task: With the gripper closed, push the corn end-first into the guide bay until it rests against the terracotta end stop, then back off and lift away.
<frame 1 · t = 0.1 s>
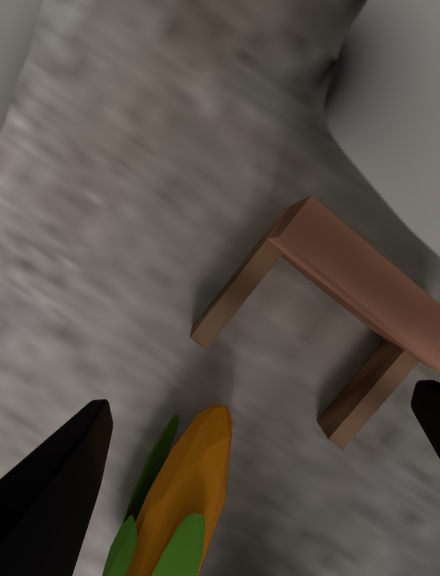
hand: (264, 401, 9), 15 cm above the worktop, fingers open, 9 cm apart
guide bay: (296, 339, 24), on the worktop
corn: (176, 482, 26), on the worktop
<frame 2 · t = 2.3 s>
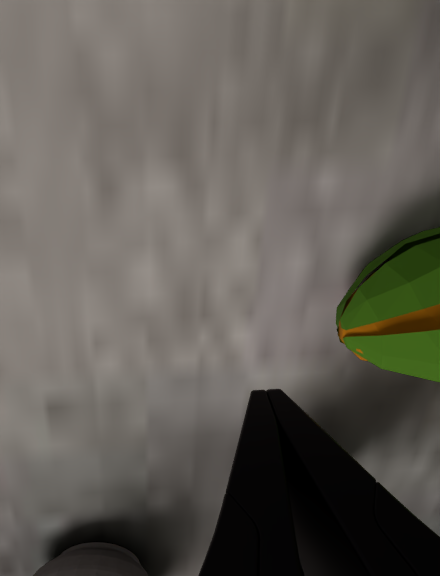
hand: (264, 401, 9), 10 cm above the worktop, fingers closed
coffee pot: (77, 533, 26), on the worktop
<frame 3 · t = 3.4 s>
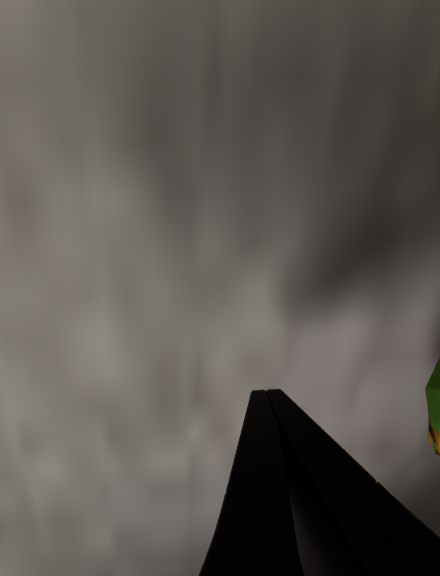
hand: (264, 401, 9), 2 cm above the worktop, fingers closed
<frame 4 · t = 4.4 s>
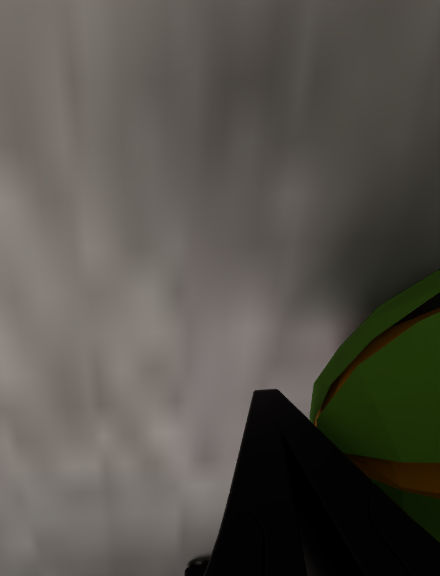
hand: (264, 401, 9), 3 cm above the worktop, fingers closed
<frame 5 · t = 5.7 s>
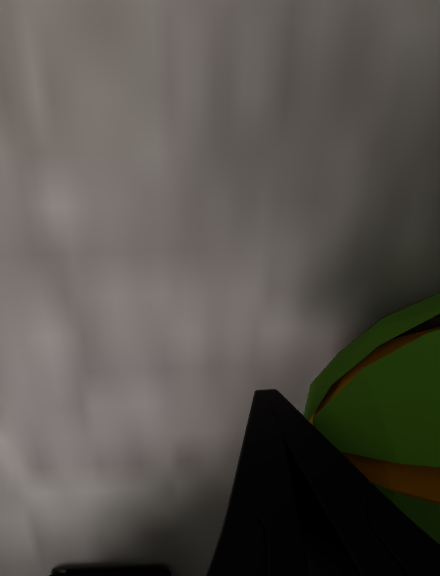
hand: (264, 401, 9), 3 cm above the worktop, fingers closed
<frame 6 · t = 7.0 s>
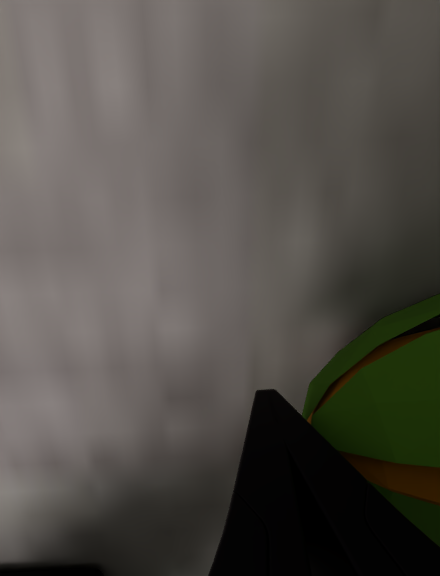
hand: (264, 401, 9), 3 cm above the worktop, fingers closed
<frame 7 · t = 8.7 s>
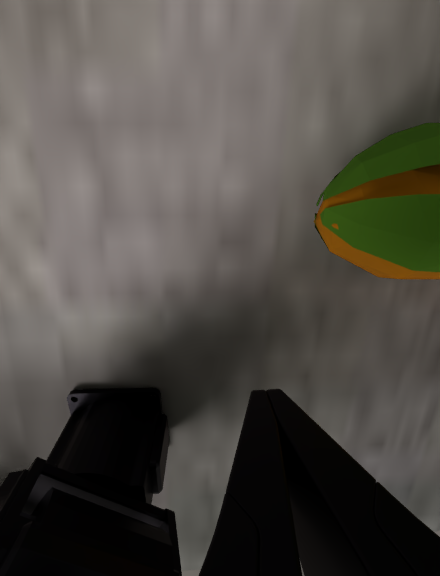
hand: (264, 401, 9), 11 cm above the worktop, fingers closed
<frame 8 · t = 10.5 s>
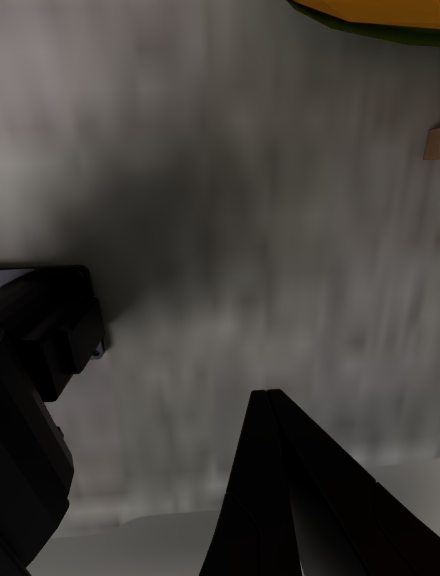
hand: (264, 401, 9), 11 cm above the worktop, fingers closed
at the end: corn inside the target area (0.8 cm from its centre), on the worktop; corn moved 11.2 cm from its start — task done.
